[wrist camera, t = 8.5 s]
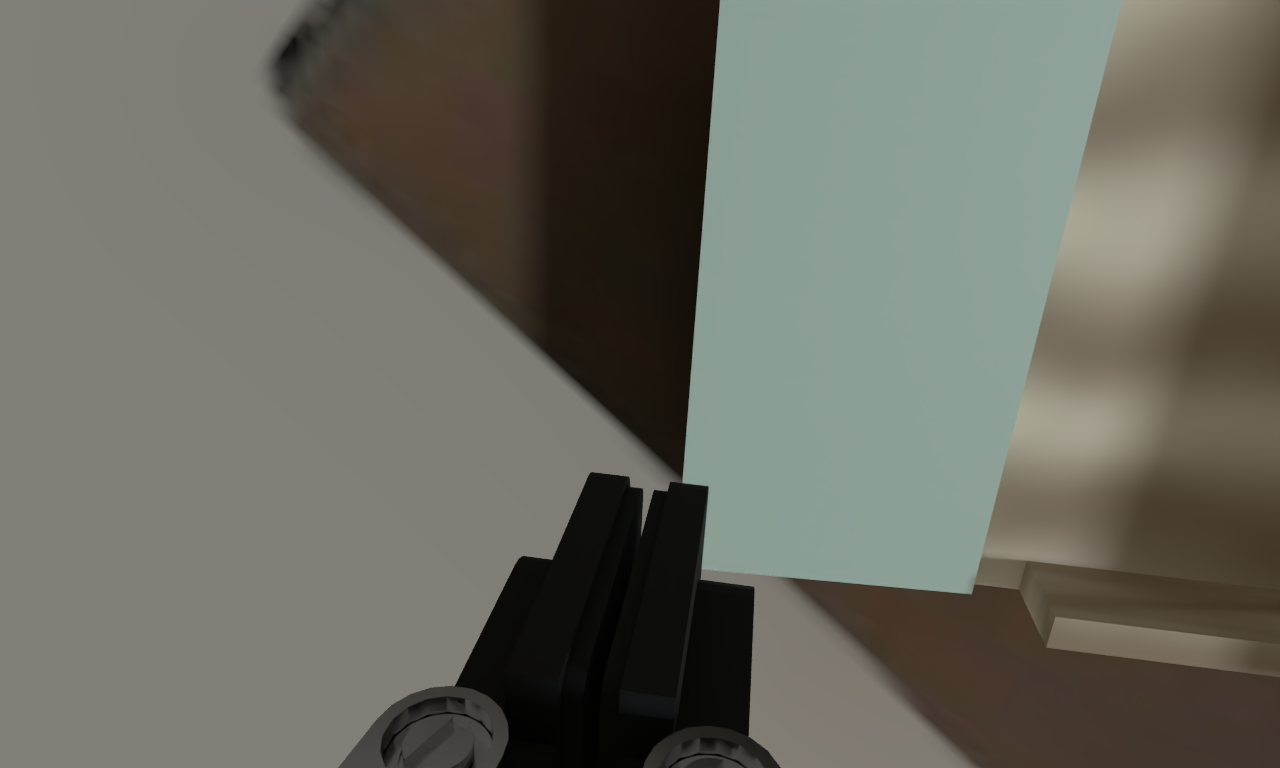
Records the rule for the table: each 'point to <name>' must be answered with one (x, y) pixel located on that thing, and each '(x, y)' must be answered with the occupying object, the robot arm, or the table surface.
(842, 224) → the panel
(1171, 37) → the tray
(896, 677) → the table surface
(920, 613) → the table surface
